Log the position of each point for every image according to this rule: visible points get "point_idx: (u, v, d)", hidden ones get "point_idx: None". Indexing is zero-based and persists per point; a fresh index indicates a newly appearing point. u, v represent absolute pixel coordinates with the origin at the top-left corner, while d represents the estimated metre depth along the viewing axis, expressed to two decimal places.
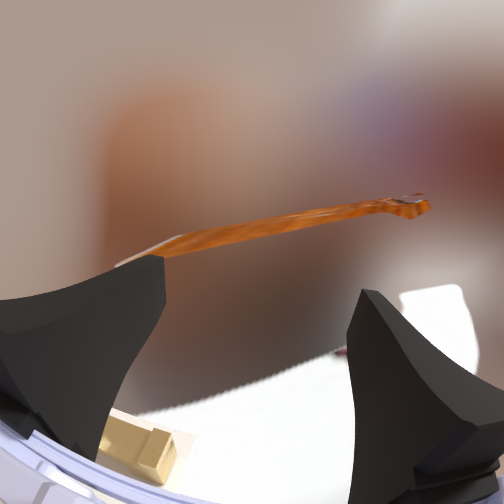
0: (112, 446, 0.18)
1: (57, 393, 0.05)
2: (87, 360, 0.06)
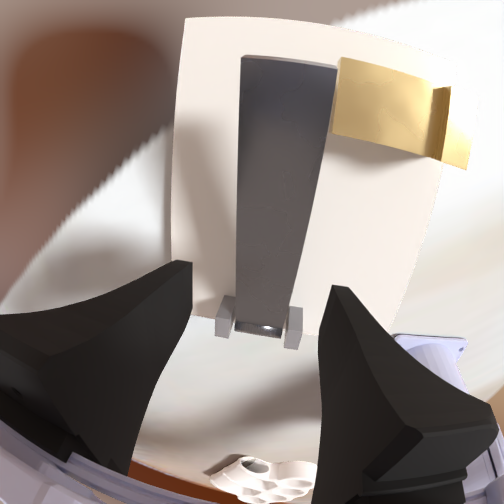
0: (383, 127, 0.11)
1: (96, 411, 0.05)
2: (124, 373, 0.06)
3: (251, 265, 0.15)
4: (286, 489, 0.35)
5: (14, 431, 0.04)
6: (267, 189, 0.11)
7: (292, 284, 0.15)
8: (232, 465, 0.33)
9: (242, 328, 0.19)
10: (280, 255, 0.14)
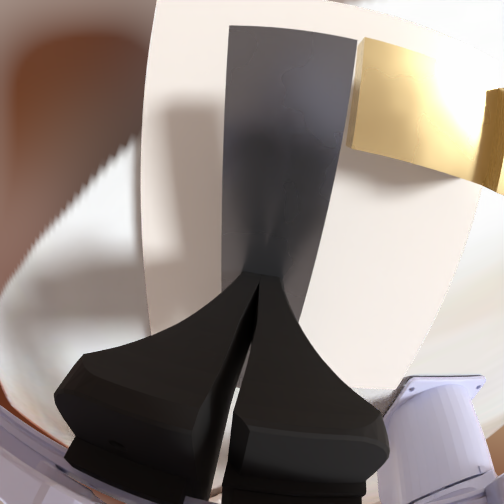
0: (423, 141, 0.07)
1: (209, 448, 0.05)
2: (224, 400, 0.06)
3: None
4: None
5: (102, 482, 0.04)
6: (262, 207, 0.08)
7: None
8: None
9: None
10: None
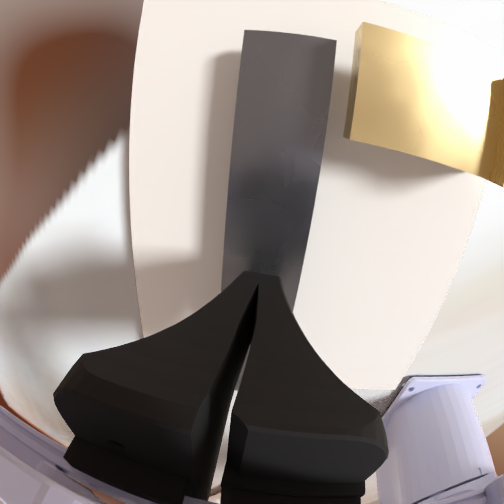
0: (426, 132, 0.07)
1: (209, 448, 0.05)
2: (223, 400, 0.06)
3: None
4: None
5: (101, 482, 0.04)
6: (264, 173, 0.10)
7: None
8: None
9: None
10: (277, 269, 0.11)
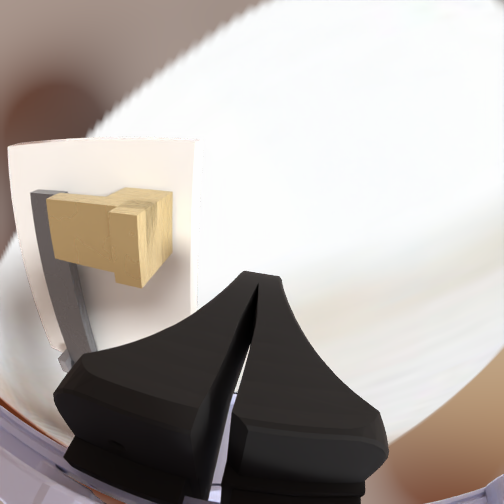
0: (80, 252, 0.14)
1: (208, 448, 0.05)
2: (223, 400, 0.06)
3: (61, 314, 0.19)
4: None
5: (101, 482, 0.04)
6: (51, 264, 0.17)
7: (84, 331, 0.19)
8: None
9: None
10: (70, 308, 0.18)
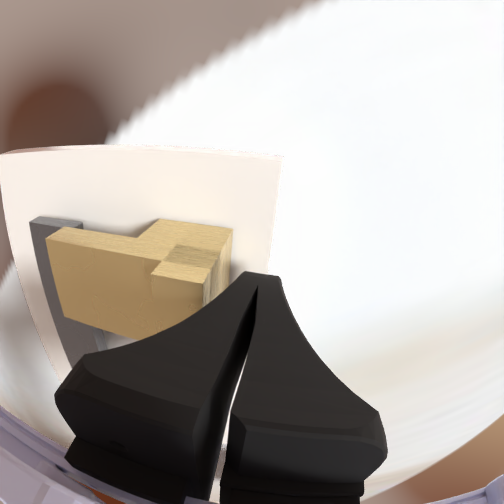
0: (101, 315, 0.10)
1: (210, 448, 0.05)
2: (224, 400, 0.06)
3: None
4: None
5: (102, 483, 0.04)
6: None
7: None
8: None
9: None
10: None
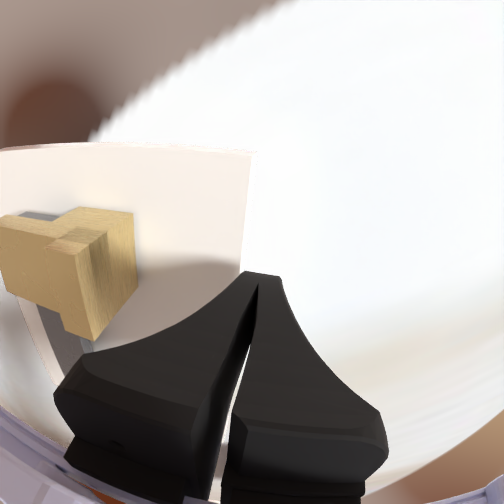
0: (29, 288, 0.10)
1: (209, 448, 0.05)
2: (223, 400, 0.06)
3: (64, 361, 0.15)
4: None
5: (101, 482, 0.04)
6: None
7: None
8: None
9: None
10: (76, 358, 0.14)
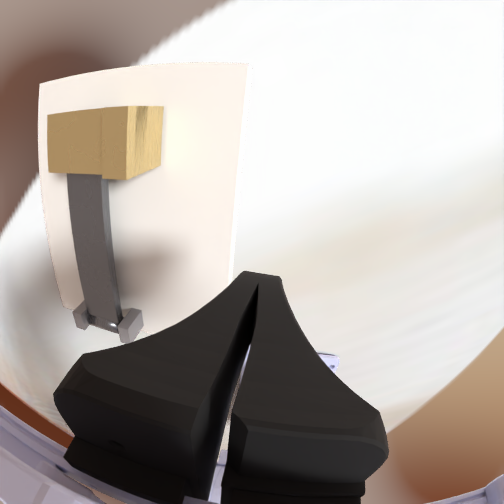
0: (72, 160, 0.14)
1: (209, 448, 0.05)
2: (223, 400, 0.06)
3: (82, 254, 0.18)
4: None
5: (101, 482, 0.04)
6: (80, 192, 0.17)
7: (108, 271, 0.19)
8: None
9: (92, 320, 0.21)
10: (95, 244, 0.18)
